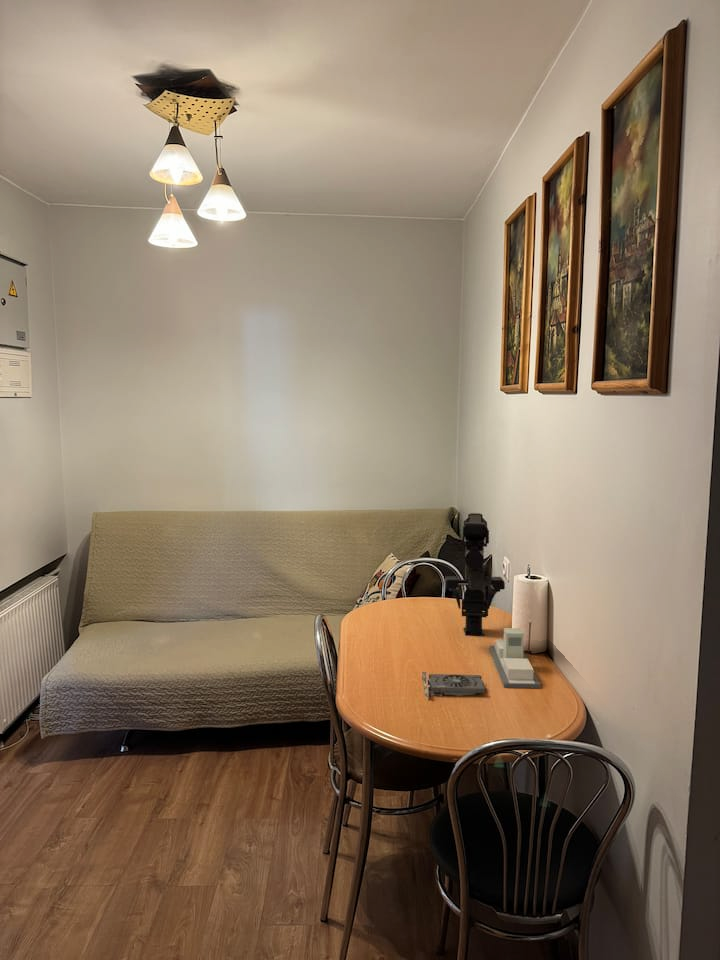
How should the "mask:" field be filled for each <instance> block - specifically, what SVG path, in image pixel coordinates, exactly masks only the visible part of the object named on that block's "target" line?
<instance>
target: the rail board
mask: <svg viewBox="0 0 720 960" xmlns="http://www.w3.org/2000/svg"><path fill="white" fill-rule="evenodd" d="M503 645H504V638H499V639H498V638H495V639H494V645H491V646H490V645H489V646H488V650H489V652H490V655H491V658H492V660H493V663H494V666H495V668H496V671H497V673H498V676H499V679H500V680H501V683H502V685H503V686H502V687H503V688H504V689H505V688H510V689H512V688H513V689H541V682H540V680H539V679H538V677H537V675H536V673H535V670H534V668H533V666H532V664H531V662H530V661H529V659H528V658H527V656H526V654H525V653H524V651H523V658H503Z"/></svg>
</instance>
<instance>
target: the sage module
mask: <svg viewBox="0 0 720 960" xmlns="http://www.w3.org/2000/svg"><path fill="white" fill-rule="evenodd" d="M524 634H525V633H524V632H523V630H522V628H518V627H517V628H514V627H513V628H512V627H504V628H503V639H504V645H503V658H523V652H524V637H525V635H524Z"/></svg>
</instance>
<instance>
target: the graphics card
mask: <svg viewBox="0 0 720 960" xmlns="http://www.w3.org/2000/svg"><path fill="white" fill-rule="evenodd" d="M482 678H483V677H482V675H480V674H453V673H451V674H450V673H449V674H448V673H445V674H443V673H430V674H429V675H428V674H427V671H421V681H426V682H425V683H423V687H425V688H423V689H424V695H425V696H427V699H428V700H429V697H431V694H432V695H434V697H435V696H436V695H438V696H439V697H443V695H445V696H447V695H449V696H451V695H452V696H475V695H476V694H484V693H485V692H486V687H485V682H484V681H483V680H482ZM428 685H430V687H428ZM433 693H434V694H433ZM437 693H438V694H437ZM436 697H437V696H436Z"/></svg>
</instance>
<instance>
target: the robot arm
mask: <svg viewBox="0 0 720 960" xmlns="http://www.w3.org/2000/svg"><path fill="white" fill-rule="evenodd" d="M467 515H468V516H467V518H466V519H465V520H464V521H463V525H462V547H465V556H464V562H465V564H464V565H465V568H464V570H465V572H464V574H465V575H464V577H465V578H464V579H459V578H458V577H457V576H455V575H454V576H453V575H450V576H448V575H447V576H445V578H444V579H443V580H444V587H445V589H447V590H449V591H450V592H453V595H454V597H455V600H456V603H457V607H458V609H461V617H465V627H463V632H464V635H465V636H484V635H485V632H484V629H483V618H487V617H489V609H490V607H491V605H492V602H493V599H494V597H495V595H496V594H497V593H500V592H501V590H505V588H506V583H505V581H504V579H503V578H502V577H501V576H492V573H485V572H484V563H485V557H484V556H485V555H484V553H485V549H484V548H486V547H488V544H490V530H489V528H488V521H487V520H485V518H483V514H482V513H474V512H473V513H472V512H470V513H468V514H467ZM459 586H466V587H467V588H466V589H465V591H464V593H463V598H462V599H460V588H459ZM487 586H488V588H487V589H488V590H487V599H485V592H484V590H485V588H486V587H487Z"/></svg>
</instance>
